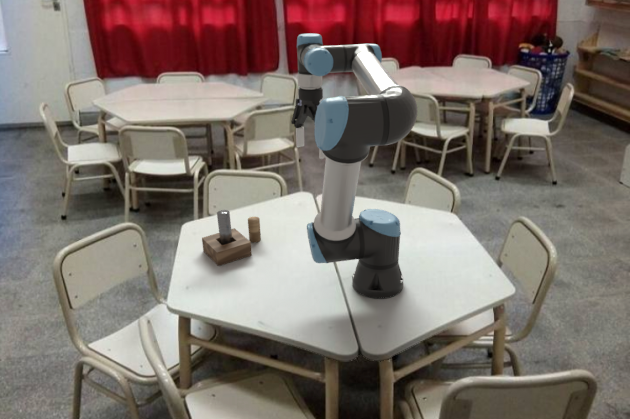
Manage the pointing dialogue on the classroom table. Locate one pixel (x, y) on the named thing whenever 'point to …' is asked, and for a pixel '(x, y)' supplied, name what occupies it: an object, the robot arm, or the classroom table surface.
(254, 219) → the oak dowel
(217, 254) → the socket block
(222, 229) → the metal pin
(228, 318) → the classroom table surface
